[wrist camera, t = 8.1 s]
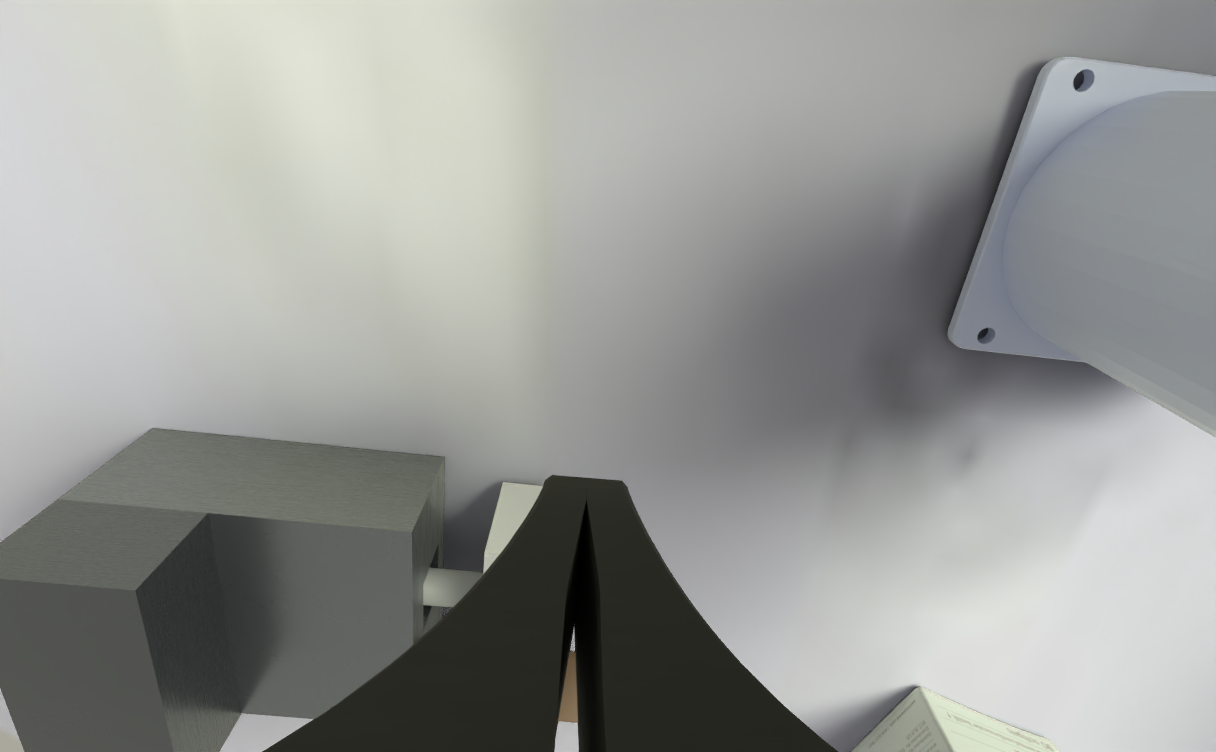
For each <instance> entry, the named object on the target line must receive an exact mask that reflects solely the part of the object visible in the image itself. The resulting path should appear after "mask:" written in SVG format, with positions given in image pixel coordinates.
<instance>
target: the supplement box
mask: <svg viewBox="0 0 1216 752" xmlns="http://www.w3.org/2000/svg"><path fill="white" fill-rule="evenodd" d="M851 752H1059V750H1058V749H1057V747H1056V746H1055V745H1054V743H1053V742H1052V741H1051V740H1049V739H1046V738H1043V737H1040V736H1037V735H1034V734H1031V733H1028V732H1026V731H1023V730H1020V729H1018V728H1015V727H1012V726H1010V725H1007V724H1005V723H1002V722H1000V721H997V720H995V719H993V718H990V717H988V716H986V715H983V714H981V713H979V712H977V711H974V710H972V709H969V708H967V707H965V706H963V705H960V704H958V703H955V702H953V701H951V700H949V699H947V698H945V697H942V696H940V695H938V694H936V693H934V692H932V691H930V690H927V689H925V688H923V687H918V688H915V689H914V690H913V691H912V692H911V693H910V694H909V695H908V696H907V697H906V698H905V699H904V700H902V701H901V702H900V703H899V704H898V705H897V706H896V707H895V708H894V709H893V711H892V712H890V713H889V714H888V715H887V716H886V717H885V718H884V719H883V720H882V721H881V722H880V723H879V724H878V725H877V726H876V727H875V728H874V729H873V730H872V731H871V732H870V733H869V734H868V735H867V736H866V737H865V738H864V739H863V740H862V741H861V742H860V743H859V744H858V745H857V746H856V747H855V748H854V749H853V750H852V751H851Z"/></svg>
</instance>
